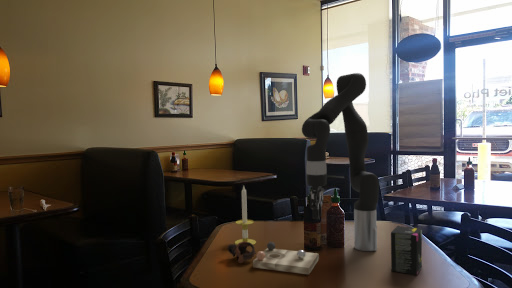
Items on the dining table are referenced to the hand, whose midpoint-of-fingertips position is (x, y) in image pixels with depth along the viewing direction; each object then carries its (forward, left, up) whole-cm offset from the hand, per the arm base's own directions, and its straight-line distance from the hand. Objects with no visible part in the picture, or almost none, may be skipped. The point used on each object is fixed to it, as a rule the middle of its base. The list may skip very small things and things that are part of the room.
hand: (317, 217), depth 147 cm
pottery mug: (+31, +1, -20) cm, 37 cm away
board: (+12, 0, -19) cm, 23 cm away
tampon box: (-32, -9, -20) cm, 38 cm away
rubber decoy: (+21, -6, -15) cm, 27 cm away
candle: (+38, -19, -20) cm, 47 cm away
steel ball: (+6, 0, -15) cm, 16 cm away
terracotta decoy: (+21, +6, -15) cm, 27 cm away
